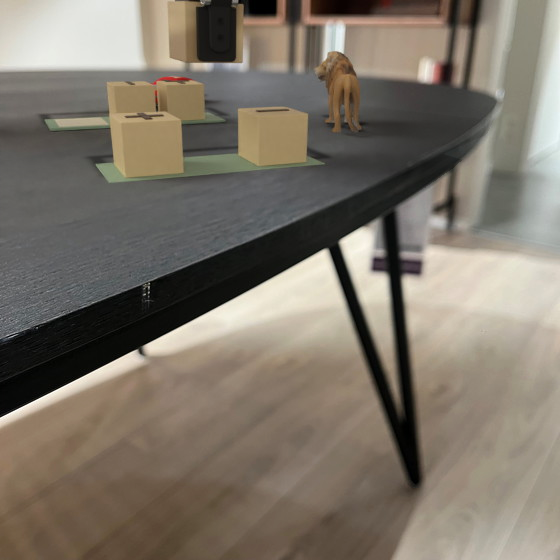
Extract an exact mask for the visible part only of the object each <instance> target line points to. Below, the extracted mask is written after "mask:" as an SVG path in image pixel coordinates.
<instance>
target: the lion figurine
mask: <svg viewBox="0 0 560 560" xmlns="http://www.w3.org/2000/svg"><path fill="white" fill-rule="evenodd" d="M313 71H314V72H315V73H314V74H315V75H316V77H317V80H318V82H320V83H322V82H325V84H324V85H325V88H326V91H327V93H328V110H329V111H328V113H329V117H328V118H326V119H325V121H324V122H325V123H326V124H334V127H333V128H332V129H331V132H332V133H337V134H339V133H340V134H341V133H342V115H341V108H342V105H343V106H344V117H343V121H344V123H346V124H348V126H349V129H350V131H351V132H353V133H354V134H357V133H359V131H362V129H363V128H362V126H361V125H360V122H359V121H360V119H359V111H360V105H361V86H360V83H359V79H358V75H357V72H356V70H355V68H354V65H353V64H352V62H351V60H350V59H349V57H347V56H346V55H345V53H342V52H341V51H338V50H332V51H328V52H327V56H326V59H325V60H324V61H322V62H321V64H319V65H317V66H316V67H314V69H313Z"/></svg>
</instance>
